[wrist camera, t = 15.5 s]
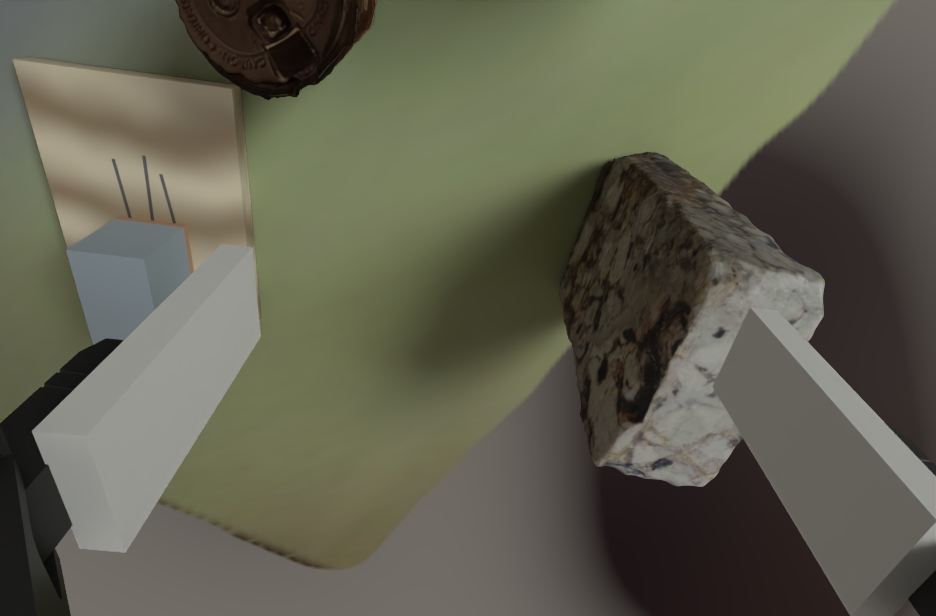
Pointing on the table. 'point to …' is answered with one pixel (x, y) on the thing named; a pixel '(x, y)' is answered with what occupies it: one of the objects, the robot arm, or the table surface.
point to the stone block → (668, 316)
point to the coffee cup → (276, 39)
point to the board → (141, 151)
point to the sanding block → (128, 272)
